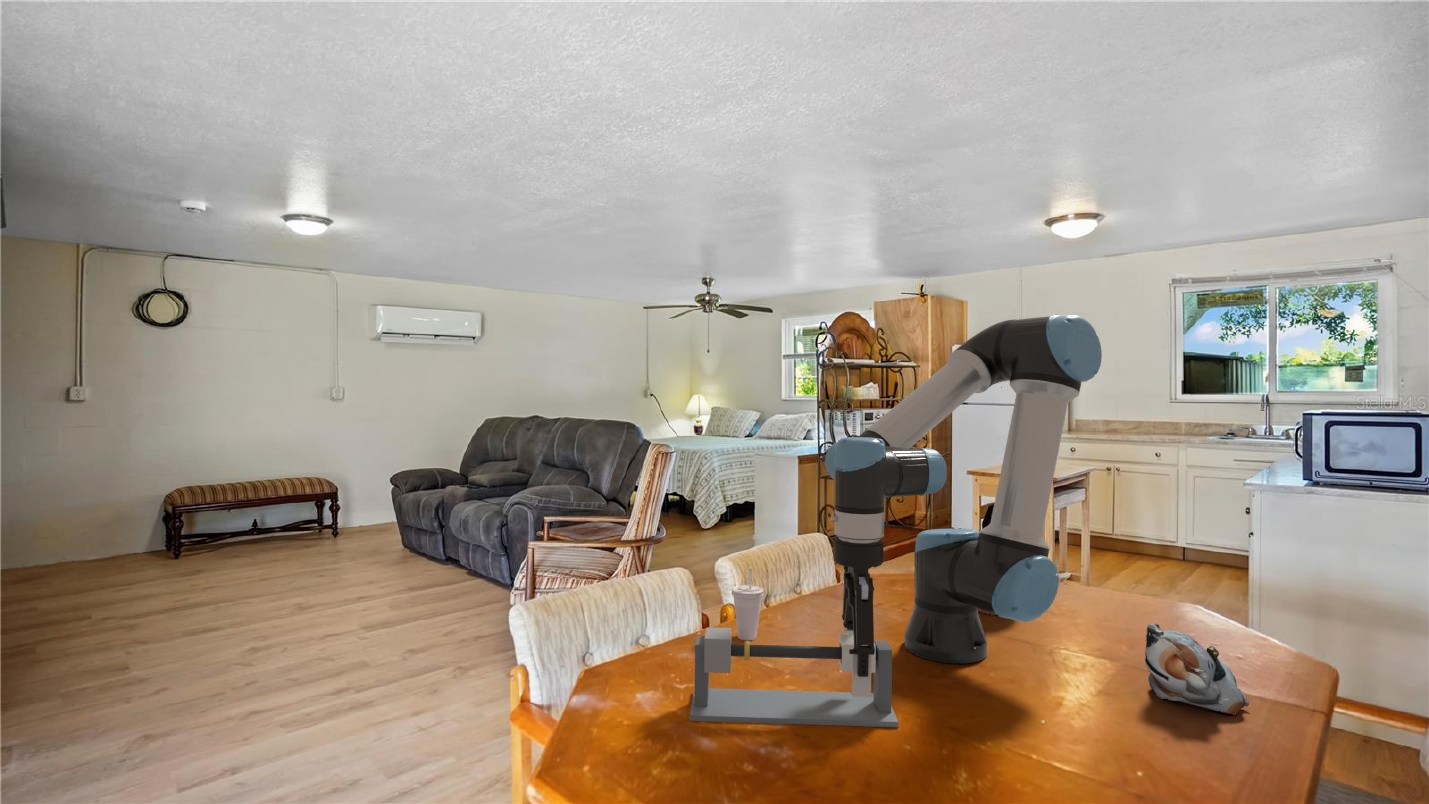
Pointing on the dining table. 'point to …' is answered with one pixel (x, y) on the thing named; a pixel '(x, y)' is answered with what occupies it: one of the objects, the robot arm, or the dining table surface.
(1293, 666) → the dining table surface
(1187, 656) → the gray steam iron
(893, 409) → the robot arm
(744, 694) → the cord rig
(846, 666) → the sleeve
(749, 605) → the smoothie
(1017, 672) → the dining table surface
